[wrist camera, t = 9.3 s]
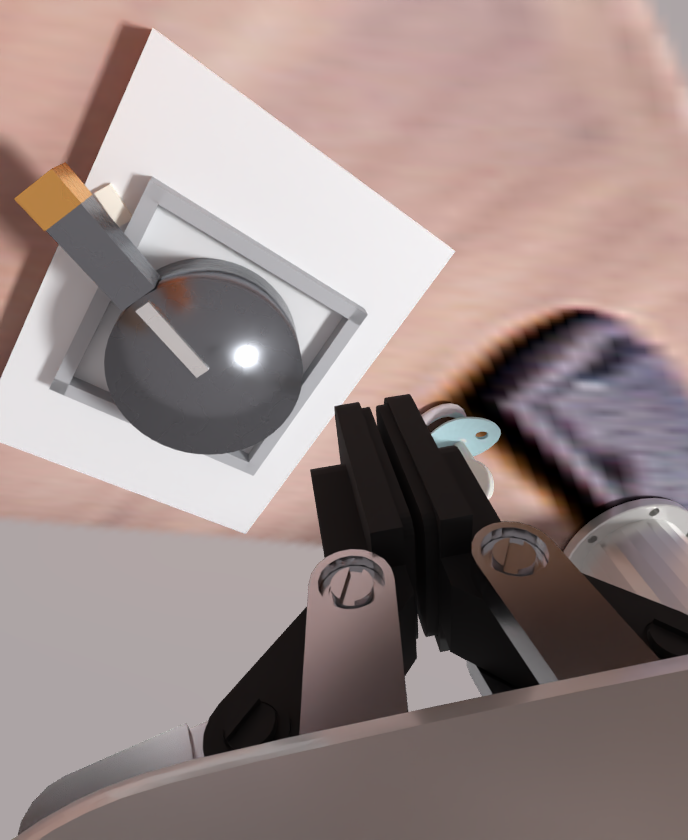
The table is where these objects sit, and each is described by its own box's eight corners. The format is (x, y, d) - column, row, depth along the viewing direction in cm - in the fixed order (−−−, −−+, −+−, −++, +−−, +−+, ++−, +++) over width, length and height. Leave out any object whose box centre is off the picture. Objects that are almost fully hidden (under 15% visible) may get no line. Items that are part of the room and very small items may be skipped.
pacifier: (380, 463, 41) (445, 488, 43) (397, 519, 36) (471, 545, 38) (433, 384, 38) (500, 415, 40) (461, 432, 33) (537, 465, 35)
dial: (328, 361, 34) (339, 394, 30) (199, 444, 35) (194, 485, 32) (141, 105, 25) (124, 110, 22) (-17, 230, 27) (-57, 253, 24)
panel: (446, 244, 33) (461, 256, 30) (245, 519, 41) (245, 543, 39) (157, 30, 25) (149, 26, 23) (-13, 419, 34) (-31, 443, 32)
